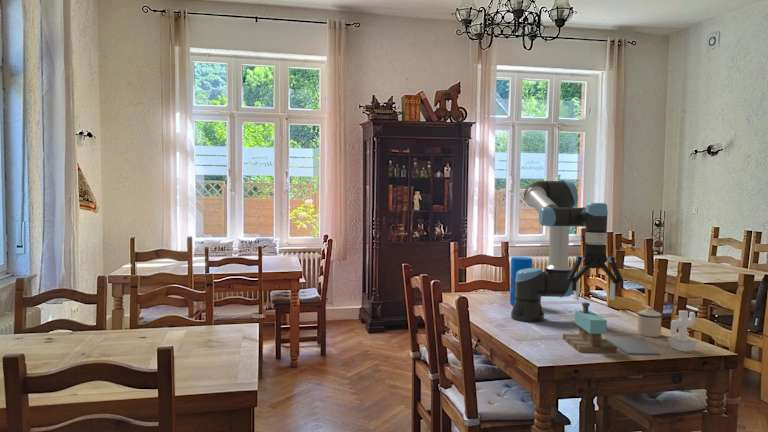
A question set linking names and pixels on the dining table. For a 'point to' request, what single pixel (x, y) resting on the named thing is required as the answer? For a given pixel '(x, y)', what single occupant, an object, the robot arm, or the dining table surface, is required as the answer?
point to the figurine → (682, 332)
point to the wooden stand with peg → (588, 339)
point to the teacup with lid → (649, 323)
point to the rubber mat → (632, 346)
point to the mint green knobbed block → (591, 322)
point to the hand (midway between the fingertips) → (594, 299)
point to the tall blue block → (516, 265)
